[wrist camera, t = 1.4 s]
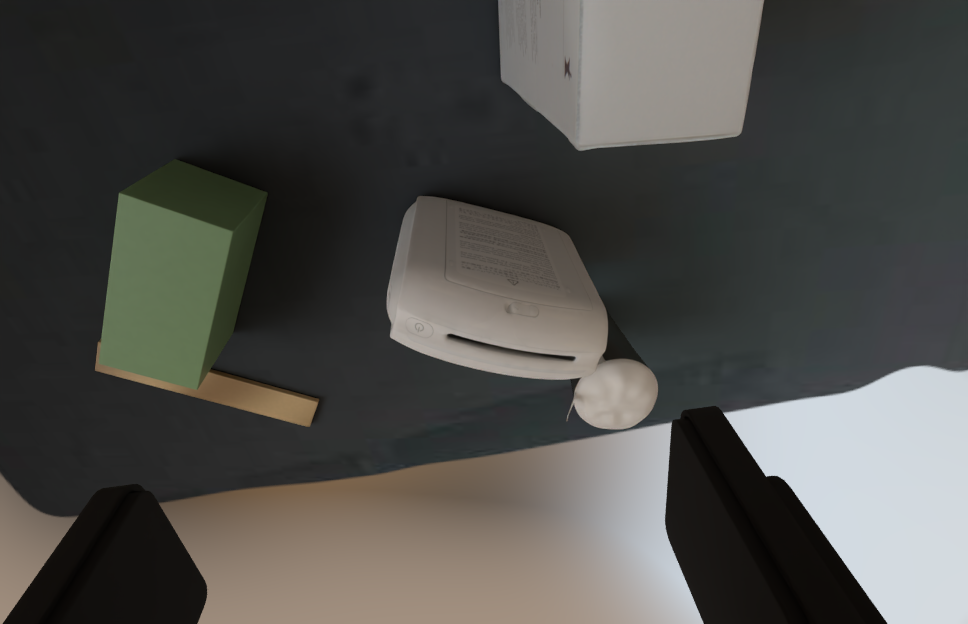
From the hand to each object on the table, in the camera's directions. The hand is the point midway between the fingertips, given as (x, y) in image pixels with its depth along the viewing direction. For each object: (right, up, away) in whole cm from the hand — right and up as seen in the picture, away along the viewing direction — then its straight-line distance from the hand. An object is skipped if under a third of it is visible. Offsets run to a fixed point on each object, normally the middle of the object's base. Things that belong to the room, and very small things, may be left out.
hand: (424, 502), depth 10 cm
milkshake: (+7, +3, +27) cm, 28 cm away
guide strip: (-17, -1, +27) cm, 32 cm away
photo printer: (+1, +8, +23) cm, 25 cm away
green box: (-15, +7, +23) cm, 28 cm away
